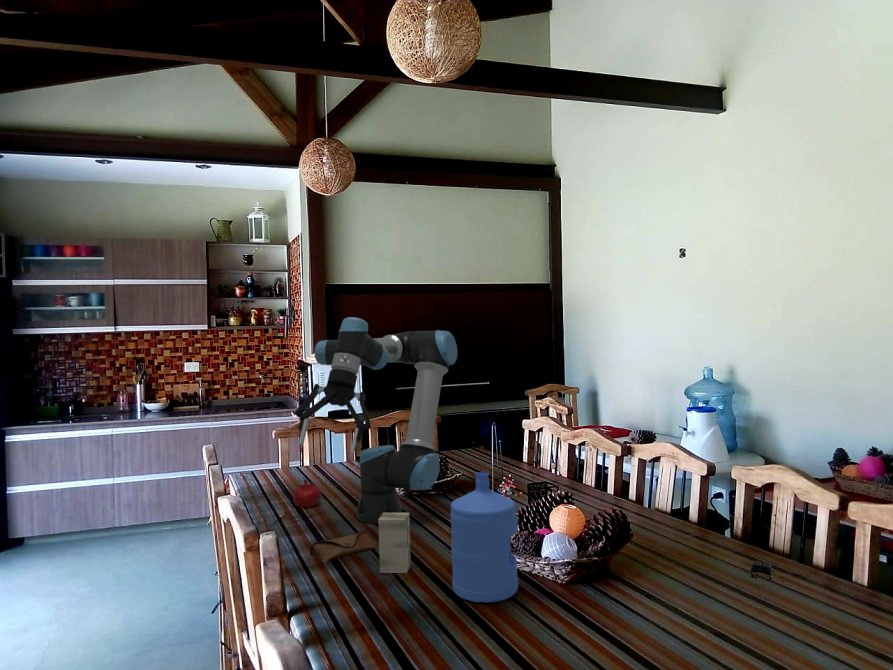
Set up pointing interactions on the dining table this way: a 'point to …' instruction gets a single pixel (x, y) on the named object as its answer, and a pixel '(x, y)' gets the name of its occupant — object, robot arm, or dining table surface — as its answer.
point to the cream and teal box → (394, 543)
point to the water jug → (483, 544)
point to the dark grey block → (761, 569)
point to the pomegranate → (307, 495)
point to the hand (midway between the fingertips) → (326, 448)
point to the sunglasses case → (342, 546)
